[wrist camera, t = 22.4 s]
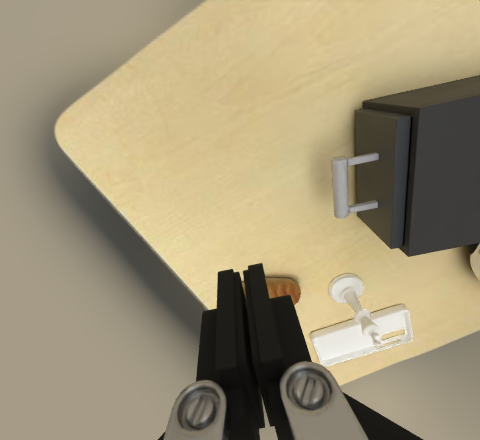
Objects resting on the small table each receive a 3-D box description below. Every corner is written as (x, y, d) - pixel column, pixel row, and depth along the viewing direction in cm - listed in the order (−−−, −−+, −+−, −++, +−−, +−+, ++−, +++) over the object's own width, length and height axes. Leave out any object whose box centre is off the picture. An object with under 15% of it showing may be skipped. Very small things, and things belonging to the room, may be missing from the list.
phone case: (403, 302, 42) (308, 332, 44) (409, 308, 41) (311, 339, 43) (409, 334, 45) (320, 361, 47) (414, 341, 44) (322, 368, 46)
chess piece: (328, 303, 42) (357, 363, 33) (327, 276, 39) (358, 333, 30) (361, 297, 41) (400, 356, 32) (362, 270, 39) (403, 326, 30)
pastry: (291, 264, 38) (298, 282, 35) (303, 299, 41) (310, 319, 38) (227, 284, 39) (228, 304, 36) (243, 317, 42) (245, 338, 39)
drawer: (322, 222, 35) (347, 258, 28) (313, 119, 29) (342, 130, 22) (467, 193, 34) (531, 221, 27) (486, 81, 28) (572, 80, 21)
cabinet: (363, 215, 35) (408, 257, 27) (362, 101, 30) (419, 108, 21) (479, 191, 35) (564, 226, 26) (503, 70, 29) (622, 64, 20)
